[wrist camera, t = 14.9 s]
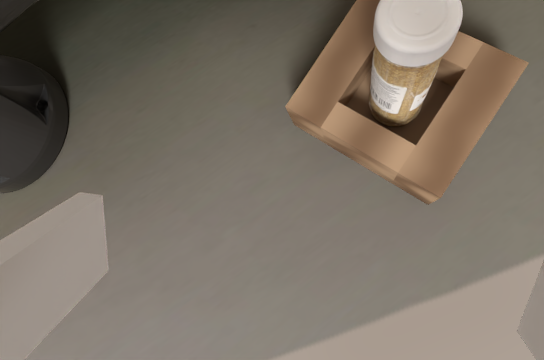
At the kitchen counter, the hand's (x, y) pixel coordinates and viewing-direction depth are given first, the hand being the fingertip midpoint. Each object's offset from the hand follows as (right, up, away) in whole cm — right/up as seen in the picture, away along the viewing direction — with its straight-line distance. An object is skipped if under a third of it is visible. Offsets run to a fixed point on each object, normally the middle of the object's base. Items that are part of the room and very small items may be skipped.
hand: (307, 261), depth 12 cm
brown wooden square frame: (+10, +9, +23) cm, 27 cm away
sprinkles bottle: (+10, +9, +22) cm, 26 cm away
